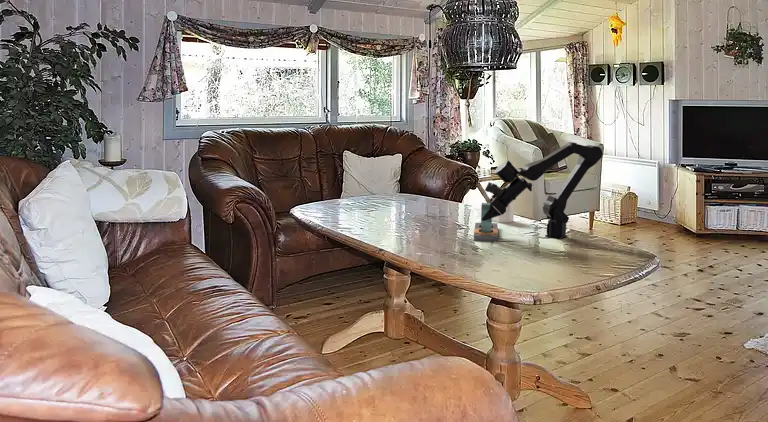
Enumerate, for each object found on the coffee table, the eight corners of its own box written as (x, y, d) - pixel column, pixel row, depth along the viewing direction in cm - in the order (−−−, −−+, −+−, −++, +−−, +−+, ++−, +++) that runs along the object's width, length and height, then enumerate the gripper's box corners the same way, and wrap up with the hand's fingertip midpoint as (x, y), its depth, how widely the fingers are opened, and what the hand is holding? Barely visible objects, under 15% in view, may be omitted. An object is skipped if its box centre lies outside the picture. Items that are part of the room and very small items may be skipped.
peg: (480, 235, 253) (481, 202, 251) (491, 235, 253) (492, 203, 250) (480, 237, 249) (481, 204, 247) (491, 237, 249) (492, 204, 247)
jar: (512, 219, 287) (513, 192, 285) (514, 222, 279) (515, 195, 277) (492, 219, 288) (492, 192, 286) (493, 222, 280) (494, 195, 278)
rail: (475, 227, 269) (475, 221, 269) (497, 228, 268) (497, 222, 267) (473, 240, 244) (473, 234, 244) (497, 241, 243) (497, 235, 242)
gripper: (498, 172, 255) (469, 199, 259) (497, 178, 237) (467, 207, 241) (517, 192, 255) (488, 219, 259) (519, 200, 237) (487, 228, 241)
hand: (482, 217), depth 250 cm, fingers open, 9 cm apart
